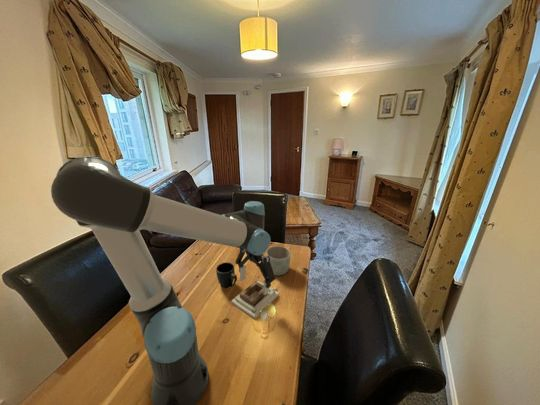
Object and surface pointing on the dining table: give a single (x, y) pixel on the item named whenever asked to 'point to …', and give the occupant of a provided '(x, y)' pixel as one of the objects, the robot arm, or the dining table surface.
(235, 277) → the mug
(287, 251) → the planter
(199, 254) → the dining table surface
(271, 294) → the white flat rectangular tray
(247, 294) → the frame
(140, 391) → the dining table surface
